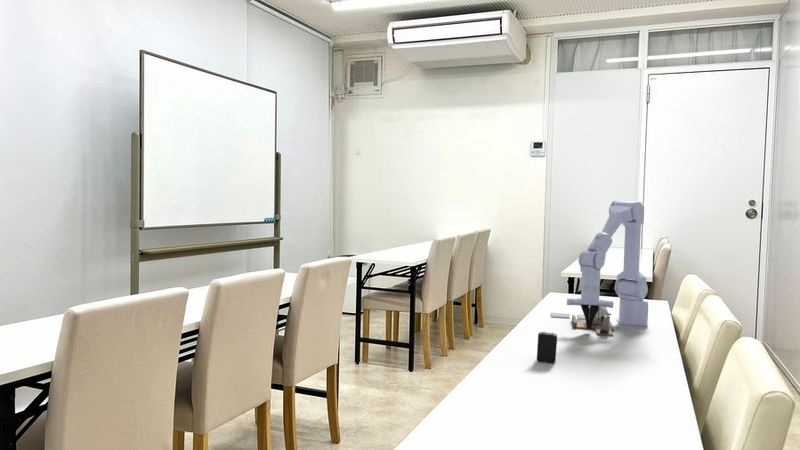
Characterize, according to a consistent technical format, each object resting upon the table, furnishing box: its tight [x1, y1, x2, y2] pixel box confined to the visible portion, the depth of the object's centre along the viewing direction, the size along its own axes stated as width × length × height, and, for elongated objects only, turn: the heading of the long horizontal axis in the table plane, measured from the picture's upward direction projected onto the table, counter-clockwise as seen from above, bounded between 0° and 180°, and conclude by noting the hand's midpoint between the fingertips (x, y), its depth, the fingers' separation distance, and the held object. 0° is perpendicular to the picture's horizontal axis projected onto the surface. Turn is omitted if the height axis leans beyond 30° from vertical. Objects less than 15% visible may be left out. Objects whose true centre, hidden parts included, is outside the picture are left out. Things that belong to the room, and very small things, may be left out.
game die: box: [589, 307, 612, 325], centre depth 209 cm, size 9×8×10 cm
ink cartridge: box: [536, 331, 558, 365], centre depth 167 cm, size 5×2×8 cm, turn 69°
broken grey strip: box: [550, 312, 585, 320], centre depth 222 cm, size 16×6×1 cm, turn 77°
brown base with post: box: [571, 314, 615, 337], centre depth 205 cm, size 13×19×6 cm
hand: (588, 327), depth 199 cm, fingers closed
